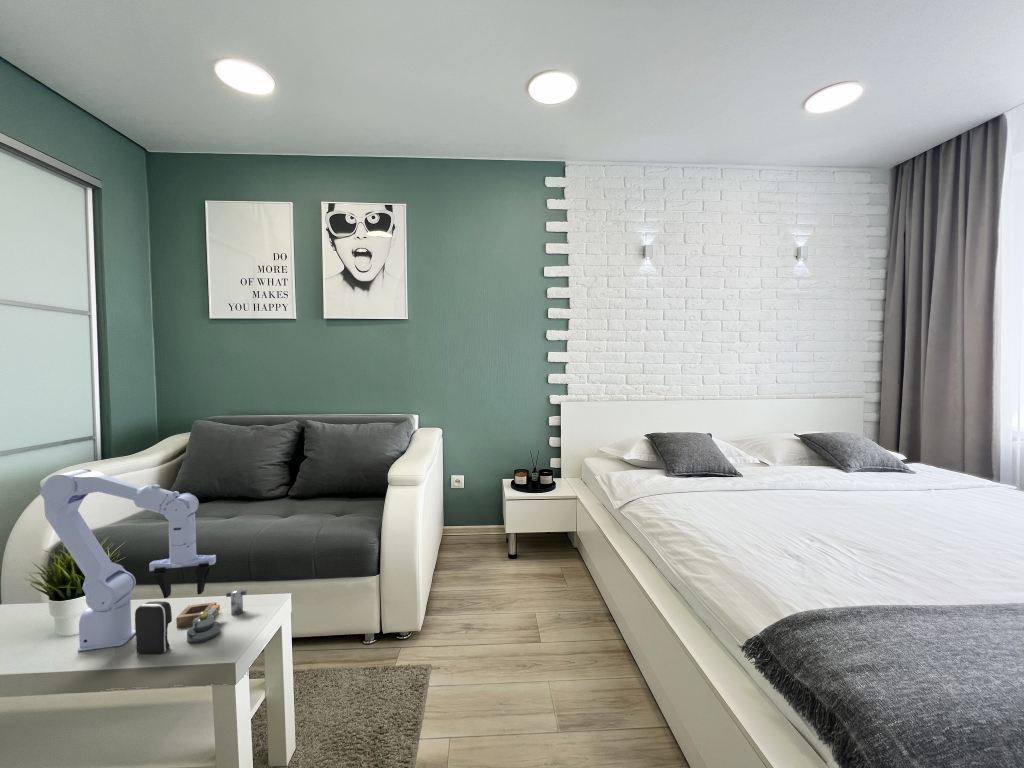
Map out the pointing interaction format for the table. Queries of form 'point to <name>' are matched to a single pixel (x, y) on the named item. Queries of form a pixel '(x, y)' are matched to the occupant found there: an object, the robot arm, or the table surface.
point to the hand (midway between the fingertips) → (184, 594)
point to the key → (236, 600)
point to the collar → (206, 620)
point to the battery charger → (152, 627)
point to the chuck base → (203, 632)
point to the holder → (192, 613)
